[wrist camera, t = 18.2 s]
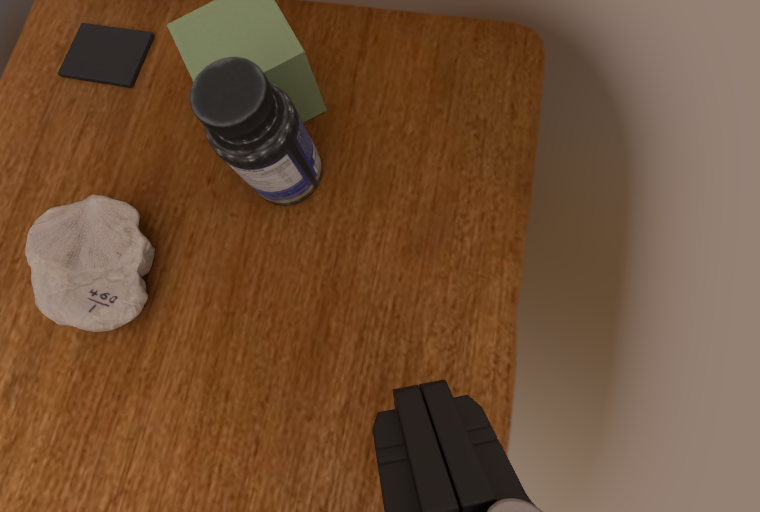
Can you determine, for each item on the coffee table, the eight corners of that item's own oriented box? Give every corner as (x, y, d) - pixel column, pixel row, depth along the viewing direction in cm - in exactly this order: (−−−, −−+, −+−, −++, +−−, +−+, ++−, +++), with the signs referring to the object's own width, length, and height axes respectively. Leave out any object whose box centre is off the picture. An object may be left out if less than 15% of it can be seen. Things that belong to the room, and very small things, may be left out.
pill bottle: (275, 131, 34) (211, 32, 24) (336, 156, 33) (297, 62, 23) (241, 191, 33) (157, 115, 23) (302, 219, 32) (245, 152, 21)
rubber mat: (154, 35, 38) (152, 32, 38) (132, 88, 37) (129, 85, 37) (84, 26, 40) (81, 22, 39) (60, 76, 38) (57, 73, 38)
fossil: (142, 184, 31) (109, 288, 25) (181, 237, 36) (162, 334, 30) (30, 203, 31) (-32, 313, 25) (86, 254, 36) (47, 355, 30)
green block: (290, 46, 36) (260, -24, 30) (327, 110, 34) (304, 51, 28) (213, 85, 36) (166, 24, 29) (246, 153, 34) (203, 103, 27)
